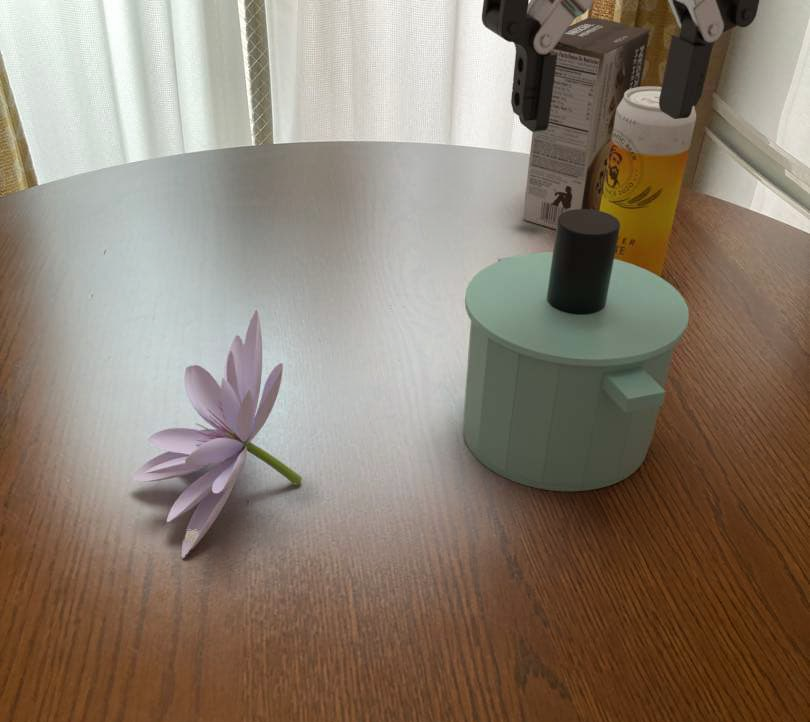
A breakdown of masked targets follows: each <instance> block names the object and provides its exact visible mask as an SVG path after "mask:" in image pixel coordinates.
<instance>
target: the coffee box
mask: <svg viewBox="0 0 810 722" xmlns="http://www.w3.org/2000/svg"><path fill="white" fill-rule="evenodd" d="M650 32H651V29H649V28H648V29H647V28H641V27H636V26H631V25H629V24H626V23H623V22H618V21H614V20H608V19H604V18H603V19H602V18H597V17H586V18H585V19H582V20H580V21H577V22H575V23H574V24H573V23H572V24H571V25H570V26H569V28H568V29H567V30H566V32H565V33H564V35H563V36H562V37H561V39H560V40H559V42H558V43H557V44H556V46H555V47H554V49H553V50H552V51H551V52H553V53H554V54H556V55H557V61H556V69H555V77H554V85H553V93H552V101H551V109H550V117H549V124H548V128H547V130H545V131H537V132H532V131H531V132H532V133H531V142H530V150H529V151H530V152H529V160H528V169H527V179H526V187H525V196H524V197H525V198H524V205H523V206H524V207H523V216H522V218H523V220H524V221H527V222H530V223H533V224H536V225H539V226H543V227H546V228H550V229H553V230H556V226H557V219H558V217H559V216H560V215H561V214H562V213H564V212H566V211H570V210H575V209H591V210H597V211H600V205H601V199H602V193H603V187H604V181H605V175H606V169H607V163H608V157H609V151H610V145H611V139H612V133H613V127H614V121H615V115H616V109H617V107H618V105H619V104H620V102H621V101H622V99H623V97H624V93H625V92H626V91H627V90H629V89H632V88H637V87H641V84H642V80H643V73H644V67H645V62H646V55H647V50H648V44H649V37H650Z"/></svg>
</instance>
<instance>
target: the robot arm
mask: <svg viewBox="0 0 810 722" xmlns="http://www.w3.org/2000/svg"><path fill="white" fill-rule="evenodd" d="M595 1H596V0H483V2H482V11H481V22H482V25H483V26H484V28H486V29H487V30H489V31H491V33H493V34H495V35H497V36H498V37H500V38H502V39H503V40H505V42H508V43H513V44H514V48H515V58H514V67H513V77H512V78H513V80H512V81H513V82H512V87H511V89H512V91H511V96H510V104H511V107H512V108H511V109H512V111H513V113H514V114H515V115H517V117H518V120H519V122H520V124H521V125H522V126H524V127H525V128H526V129H528V130H529V131H530V132H537V131H545V130H547V128H548V124H549V117H550V109H551V101H552V93H553V85H554V77H555V69H556V61H557V55H556V54H554V53H553V52H551V51H552V50H553V49H554V47H555V46H556V44H557V43H558V42H559V40H560V39H561V37H562V36H563V35H564V33H565V32H566V30H567V29H568V28H569V26H571V25H572V24H573V22H574V21H575V19H577V18H579V17H580V16H582V15H584V14H585V13H586V12H587V11H588V10H590V8H591V6H592V5H593V4H594V2H595ZM667 1H668V4H669V6H670V9H671V12H672V14H673V16H674V19H675V22H676V24H677V27H678V28H679V29H680V30H679V34H672V35H671V39H670V44H669V49H668V53H667V54H668V55H667V59H666V64H665V69H664V74H663V79H662V84H661V85H662V86H661V87H662V89H661V94H660V99H659V107H660V110H661V111H662V112H664V113H665V114H667V115H669V116H670V117H672V118H674V119H681V118H688V117H689V116H690V114H691V111H692V107H693V106H694V107H696V106H697V105H698V103H699V101H700V99H701V98H702V95H703V90H704V88H705V87H704V86H705V83H706V78H707V77H706V76H707V73H708V68H709V64H710V60H711V55H712V51H713V47H714V44H715V42H716V41H718V40H719V38H720V37H721V36H722V34H723V33H725V32H727V31H729V30H731V29H734V28H736V27H740V28H746V27H749V26H750V25H751V24H752V23H753V22H754V20H755V18H756V17H757V15H758V14H757V13H758V9H759V4H760V0H667Z"/></svg>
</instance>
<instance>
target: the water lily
mask: <svg viewBox="0 0 810 722" xmlns="http://www.w3.org/2000/svg"><path fill="white" fill-rule="evenodd" d="M262 336H263V335H262V327H261V320H260V314H259V310H258V308H256V309H255V311H254V312H253V314H252V317H251V319H250V320H249V324H248V327H247V331H246V333H245V338H244V341H243V339H242V337H241V336H240V335H238V334H236V335H235V336H234V338H233V340H232V342H231V344H230V347H229V350H228V353H227V355H226V360H225V363H224V364H225V365H224V373H223V377H221V382H218V381H217V379H216V378H215V377H214V376H213V375H212V374H211V373H210V372H209V371H208V370H207V369H205V368H204V367H203V366H201V365H197V364H194V365H189V366H186V367H185V371H184V388H185V393H186V396H187V398H188V401H189V403H190V404H191V406H192V407H193V409H194V410H195V411H196V413H197V414H198V416H200V417H201V418H202V420H204V421H205V422H206V424H208V425H210V426H211V427H212V428H208V427H206V426H203V424H202V425H201V424H199V423H197V422H196V423H195V425H197V426H199V427H202V428H203V429H195V428H194V429H193V428H186V427H174V428H173V427H172V428H166V429H162V430H159V431H157V432H155V433H153V434H151V435H150V436H149V437H148V438H147V441H148V443H149V444H151V445H152V446H153V447H155V448H157V449H159V450H162V451H165V452H164V453H161V454H159V455H157V456H155V457H153V458H152V459H150V460H149V461H147V462H146V463H144V464H142V466H140V468H138V469H137V470H136V471H135V472H134V474H133V475H132V476H131V480H132V481H134V482H141V483H142V482H143V483H145V482H146V483H147V482H148V483H149V482H160V481H165V480H166V481H167V480H171V479H176V478H180V477H184V476H187V475H190V474H193V473H196V472H199V471H201V470H203V469H206V468H207V467H209V466H212V465H214V464H217V463H218V464H217V465H216V466H214V467H213V468H211V469H210V470H208V471H207V472H206V473H204V474H203V475H202V476H200V477H198V478H197V479H196V480H195V481H193V482H191V484H189V486H187V488H186V489H184V490H183V492H182V493H181V494H179V496H178V498H176V500H175V502H174V503H173V505H172V506H171V509H170V510H169V512H168V515H167V518H166V523H170V522H172V521H174V520H176V519H177V518H179V517H181V516H182V515H183V514H185V513H187V512H188V511H190V510H191V509H192V508H194V507H195V506H196V505H197V504H198V505H197V506H196V508H195V510H194V511H193V514H192V516H191V518H190V520H189V522H188V525H187V527H186V530H185V532H187V531H191V530H195V529H197V530H195V531H197V532H198V531H199V532H198V533H199V536H198V538H197V539H196V541H195V542H194V544H193V546H192V547H191V541H190V540H183V539H182V544H181V559H182V560H183V559H184V558H186V556H187V555H188V554H189V553H190V552H191V551H192V550H193V549H194V548H195V547H196V546H197V545H198V544H199V542H200V541H201V540H202V539H203V537H204V536H205V535H206V534H207V532H208V531H209V530H210V528H211V527H212V525H213V524H214V522H215V521H216V520H217V518H218V516H219V515H220V514H221V511H222V510H223V508H224V506H225V504H226V502H227V501H228V498H229V497H230V494H231V493H232V490H233V489H234V487H235V483H236V481H237V479H238V477H239V476H240V474H241V472H242V470H243V468H244V467H245V464H246V461H247V456H248V453H250V454H251V455H253V456H255V457H256V458H257V459H259V460H261V461H262V462H264V463H265V464H266V465H268V466H269V467H271V468H272V469H274V470H275V471H276V472H278V473H279V474H281V475H282V476H283V477H284V478H286V480H288V481H290V483H292V484H293V485H294V486H297V487H298V486H299V485H300V484H301V482H302V479H303V478H302V477H301V476H300V475H299V474H298V473H297V472H295V471H294V470H293V469H291V468H290V467H289V466H288V465H286V464H284V462H282V461H281V460H279V459H277V458H276V457H275V456H273V455H272V454H270V453H269V452H267V451H265V450H264V449H262V448H260V447H259V446H257V445H255V444H254V443H252V442H251V441H252V440H253V439H254V438H255V437H256V436H257V435H258V433H259V432H260V431H261V430H262V428H263V426H264V425H265V424H266V422H267V420H268V418H269V417H270V415H271V413H272V410H273V408H274V405H275V403H276V400H277V398H278V396H279V395H278V394H279V391H280V387H281V383H282V379H283V370H284V363H282V362H281V363H278V364H277V365H276V366H275V367H274V368H273V369H272V370H271V372H270V373H269V375H268V377H267V379H266V381H265V383H264V385H263V390H262V392H261V384H262V374H263V339H262V338H263V337H262ZM260 393H262V394H261V398H260ZM259 398H260V399H259ZM259 400H260V401H259ZM294 483H295V484H294ZM188 529H191V530H188ZM190 548H191V549H192V550H191V549H190ZM190 550H191V551H190ZM189 551H190V552H189ZM188 552H189V553H188ZM187 553H188V554H187ZM186 554H187V555H186ZM185 555H186V556H185Z"/></svg>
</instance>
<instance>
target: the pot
mask: <svg viewBox="0 0 810 722" xmlns="http://www.w3.org/2000/svg"><path fill="white" fill-rule="evenodd" d="M511 257H512V256H509V257H503V258H498V259H497V262H498V261H501V260H504V259H507V258H511ZM469 327H470V328H469V339H468V343H469V344H468V353H467V365H466V377H465V378H466V379H465V391H464V402H463V403H464V404H463V405H464V406H463V422H462V423H463V425H462V432H463V437H464V441H465V443H466V446H468V449H469V452H471V453H472V455H473V456H474V457H475V458H476V459H477V460H478V461H479V462H480V463H481V464H482V465H483V466H485V467H486V468H487V469H489V470H490V471H492V472H494V473H495V474H497V475H499V476H500V477H503V478H505V479H507V480H510V481H511V482H514V483H517V484H520V485H523V486H527V487H530V488H534V489H539V490H545V491H554V492H585V491H586V492H587V491H592V490H599V489H602V488H607V487H610V486H612V485H615V484H617V483H619V482H621V481H623V480H625V479H627V478H629V477H630V476H631V475H632V474H635V472H636V471H637V470H638V469H639V468H640V467H641V466H642V464H643V463H644V461H645V460H646V457H647V454H648V451H649V448H650V446H651V444H652V442H653V441H652V440H653V436H654V433H655V428H656V425H657V420H658V417H659V413H660V409H661V407H663V404H664V400H665V397H666V390H665V388H666V384H667V381H668V376H669V372H670V368H671V364H672V360H673V356H674V354H675V353H674V352H675V349H676V345H677V344H675V345H674V346H673V347H672V348H670V349H669V350H667V351H666V352H664V353H662V354H660V355H657V356H655V357H652V358H649V359H646V360H643V361H639V362H635V363H630V364H623V365H616V366H577V365H567V364H560V363H553V362H549V361H544V360H540V359H536V358H533V357H529V356H526V355H523V354H520V353H518V352H515V351H513V350H510V349H508V348H506V347H504V346H502V345H500V344H498V343H496V342H495V341H493V340H492V339H490V338H488V337H487V336H486V335H485V334H483V333H482V332H481V331H480V330H479V329H478V328H477V327H476V326H475V325H474V324H473V323H472V321H471V320H470V325H469Z"/></svg>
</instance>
